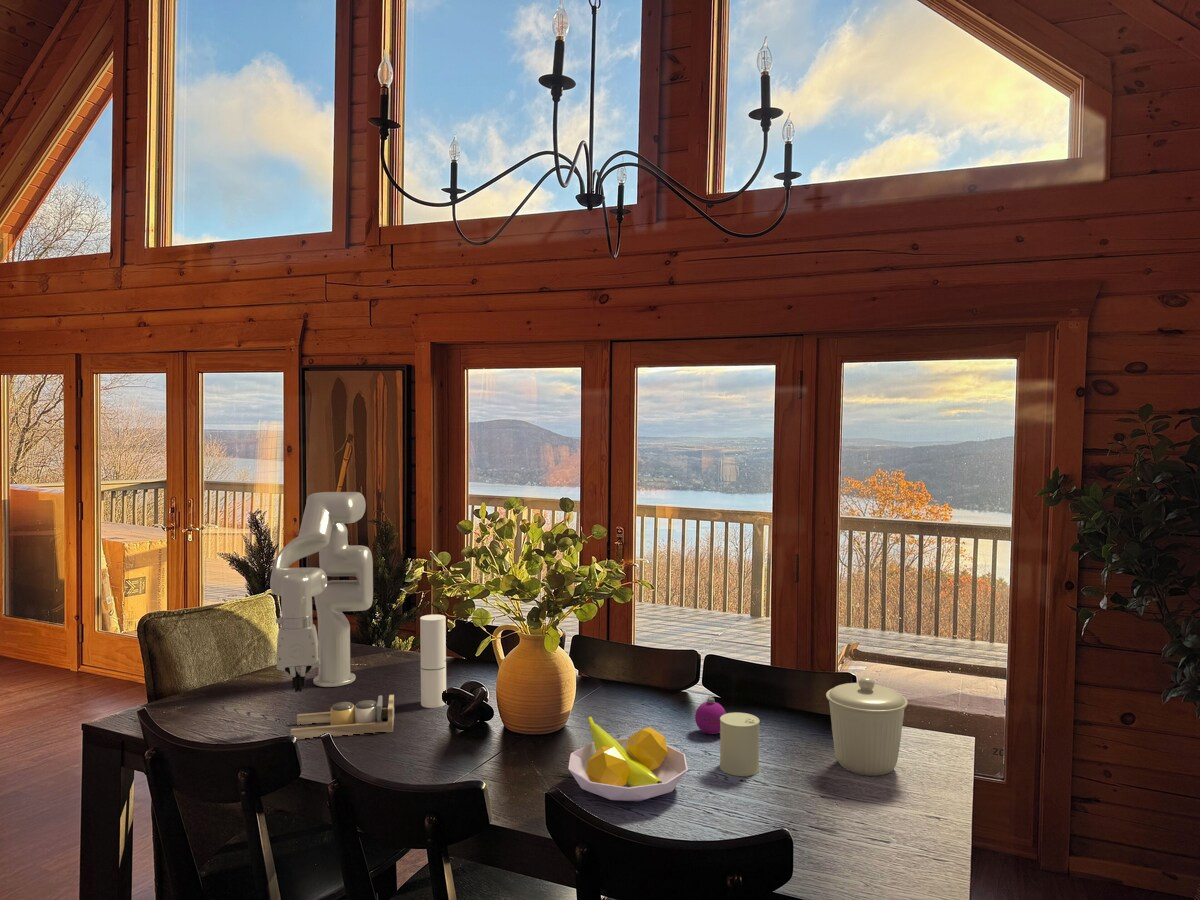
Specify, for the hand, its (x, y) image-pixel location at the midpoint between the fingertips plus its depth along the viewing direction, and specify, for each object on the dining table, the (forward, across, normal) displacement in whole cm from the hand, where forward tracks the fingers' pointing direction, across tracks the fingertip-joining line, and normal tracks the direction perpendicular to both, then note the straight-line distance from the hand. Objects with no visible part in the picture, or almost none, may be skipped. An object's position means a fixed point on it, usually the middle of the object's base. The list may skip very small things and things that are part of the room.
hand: (299, 689), depth 215 cm
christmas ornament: (+10, +105, -27) cm, 109 cm away
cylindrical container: (+12, +35, +12) cm, 39 cm away
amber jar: (+11, +11, -2) cm, 15 cm away
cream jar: (+11, +17, -2) cm, 20 cm away
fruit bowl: (+9, +76, -52) cm, 92 cm away
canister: (+9, +133, -55) cm, 144 cm away
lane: (+11, +12, -2) cm, 16 cm away
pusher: (+10, +20, -2) cm, 23 cm away
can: (+9, +104, -49) cm, 115 cm away
